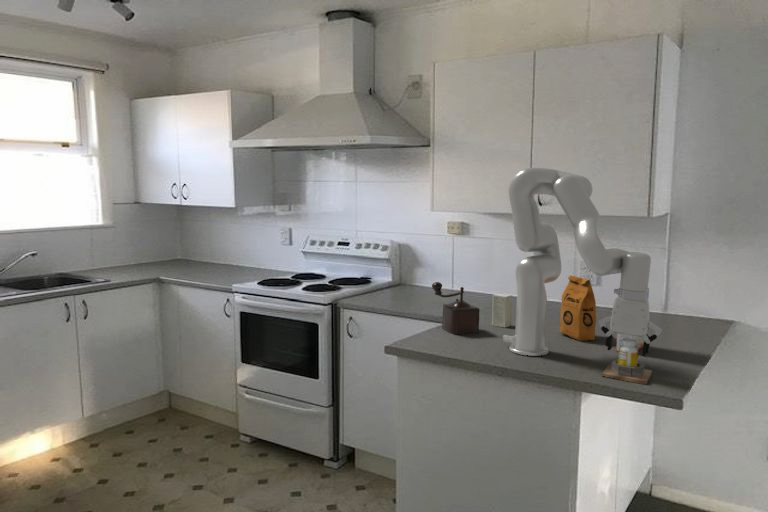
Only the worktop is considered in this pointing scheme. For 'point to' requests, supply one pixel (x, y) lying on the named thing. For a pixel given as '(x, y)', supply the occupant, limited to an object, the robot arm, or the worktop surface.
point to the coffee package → (578, 310)
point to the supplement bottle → (628, 353)
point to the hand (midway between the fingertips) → (626, 352)
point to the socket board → (628, 372)
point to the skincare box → (501, 310)
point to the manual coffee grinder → (458, 314)
